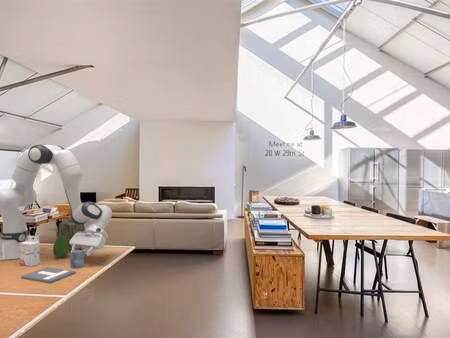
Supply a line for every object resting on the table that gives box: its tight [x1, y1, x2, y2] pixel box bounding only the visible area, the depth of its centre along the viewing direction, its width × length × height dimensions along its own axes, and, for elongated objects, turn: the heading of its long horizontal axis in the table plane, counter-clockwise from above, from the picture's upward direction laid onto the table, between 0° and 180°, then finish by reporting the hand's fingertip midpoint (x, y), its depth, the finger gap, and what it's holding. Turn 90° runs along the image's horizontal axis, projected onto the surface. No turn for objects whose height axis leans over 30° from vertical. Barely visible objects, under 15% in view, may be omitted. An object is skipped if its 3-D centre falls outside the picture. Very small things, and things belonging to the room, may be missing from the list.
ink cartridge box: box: [19, 234, 40, 268], centre depth 162 cm, size 9×5×15 cm, turn 71°
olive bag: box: [58, 208, 86, 250], centre depth 193 cm, size 14×9×25 cm, turn 58°
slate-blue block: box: [69, 249, 85, 269], centre depth 159 cm, size 4×4×8 cm
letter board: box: [20, 266, 77, 284], centre depth 146 cm, size 18×14×1 cm
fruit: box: [52, 236, 70, 259], centre depth 176 cm, size 8×8×12 cm
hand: (79, 254), depth 161 cm, fingers open, 8 cm apart
